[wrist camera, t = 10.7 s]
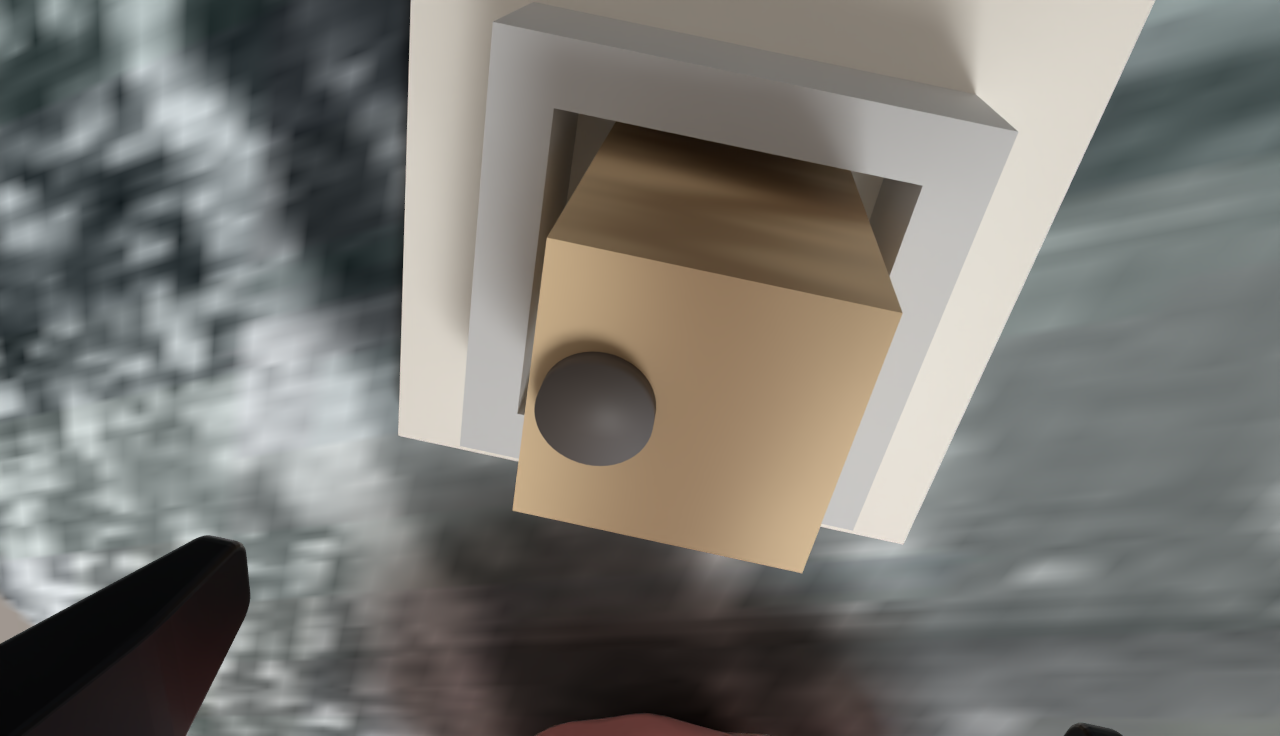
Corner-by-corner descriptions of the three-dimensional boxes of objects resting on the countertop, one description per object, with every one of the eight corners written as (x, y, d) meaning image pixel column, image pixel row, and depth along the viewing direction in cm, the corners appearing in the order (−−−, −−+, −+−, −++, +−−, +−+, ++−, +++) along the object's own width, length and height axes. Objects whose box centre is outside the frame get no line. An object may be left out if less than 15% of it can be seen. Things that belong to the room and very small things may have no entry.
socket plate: (1140, -22, 16) (1249, 2, 12) (897, 520, 23) (923, 629, 19) (433, -168, 16) (346, -185, 12) (411, 415, 23) (351, 506, 20)
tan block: (849, 166, 17) (907, 326, 11) (786, 366, 20) (803, 590, 13) (617, 118, 17) (540, 248, 11) (584, 323, 20) (506, 526, 13)
